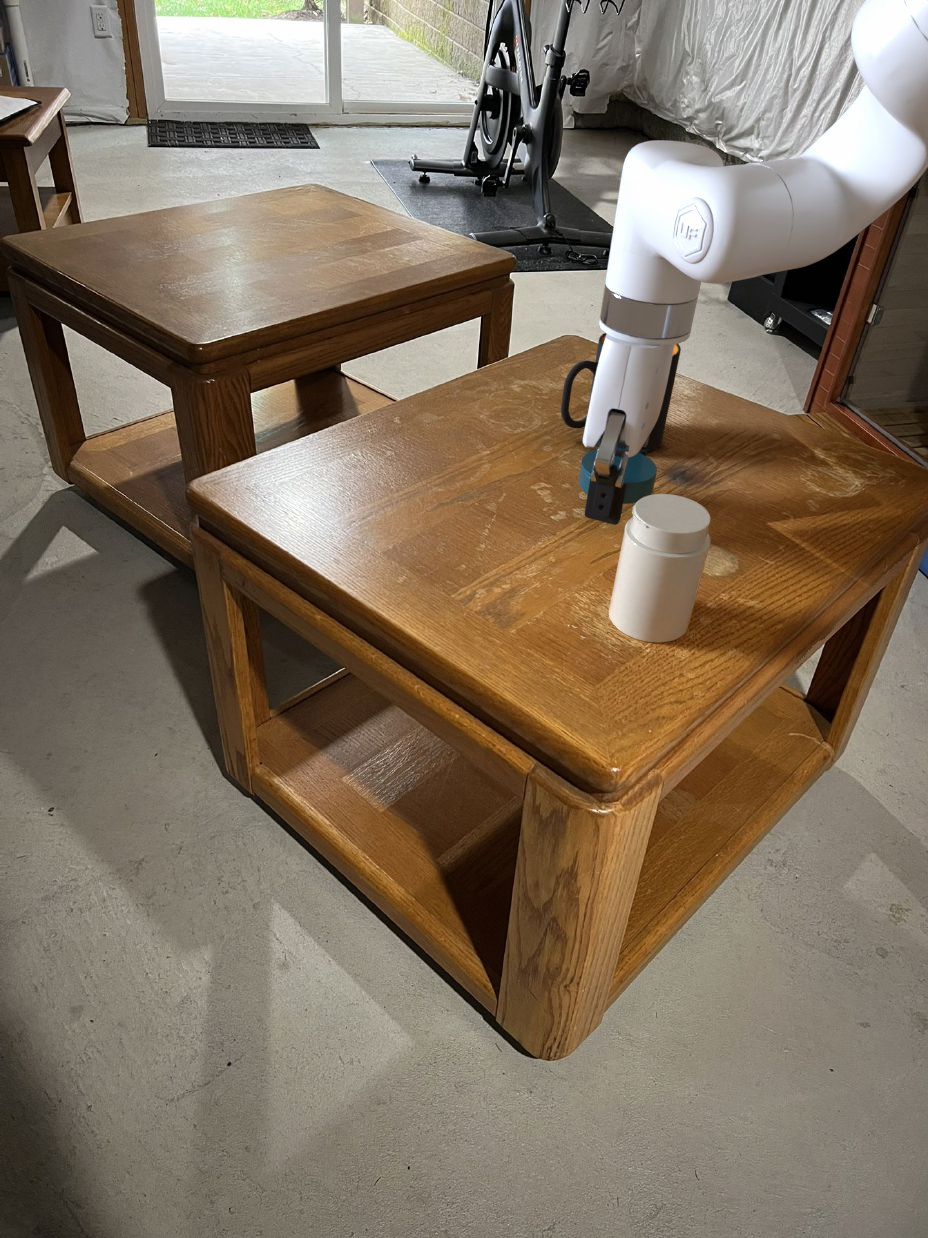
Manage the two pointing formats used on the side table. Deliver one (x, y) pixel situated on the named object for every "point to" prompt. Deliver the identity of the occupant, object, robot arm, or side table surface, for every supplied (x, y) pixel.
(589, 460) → the jar lid
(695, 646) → the side table surface
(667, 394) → the mug
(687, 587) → the jar
